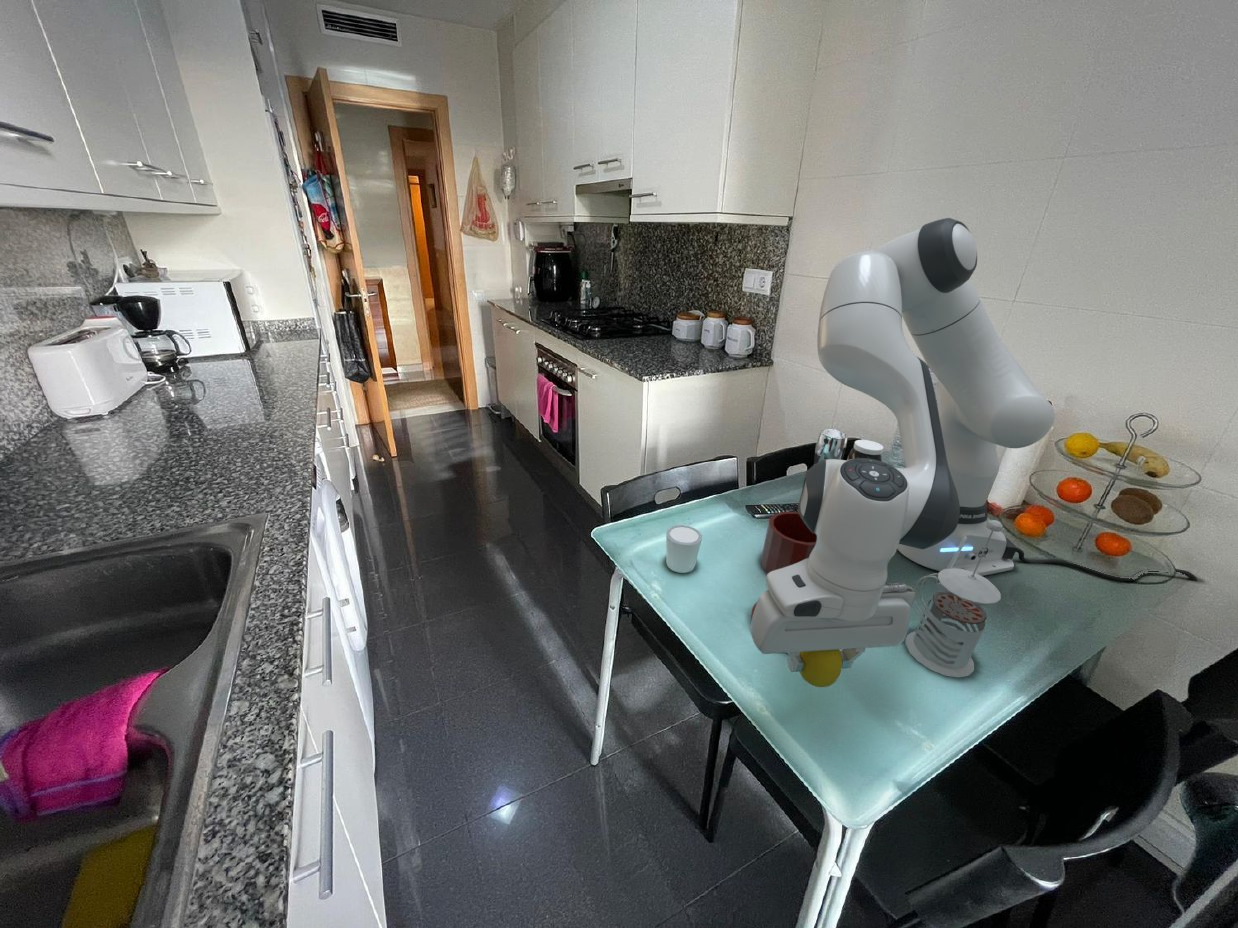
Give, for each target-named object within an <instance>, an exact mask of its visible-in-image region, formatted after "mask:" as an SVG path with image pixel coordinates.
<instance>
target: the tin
mask: <svg viewBox="0 0 1238 928" xmlns="http://www.w3.org/2000/svg"><path fill="white" fill-rule="evenodd" d="M768 519H769V520H768V524H767V529H766V533H765V537H764V543H763V548H762V553H761V558H760V564H761V567H762V570H763V571H764V572H765V573H766V575H767V574H768V573H769V572H771V571H774V570H777V569H781V568H784V567H787V566H790V565H793V564H795V563H798V562H800V561H802V560H804V559H807V558H809V556H810V554H811V552H812V550H813V549H814V547H815V545H816V541H817V535H816V534H815V533H812V532H811V531H810V530H809V529H808V527H807V526H806V524H805V523H804V521H803V520H802V518H801V517H800V515H799V513H798V511H780V512H778V513H774V514H772V515H771V517H769V518H768Z"/></svg>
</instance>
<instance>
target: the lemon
mask: <svg viewBox="0 0 1238 928" xmlns="http://www.w3.org/2000/svg"><path fill="white" fill-rule="evenodd" d="M840 651H841V649H839V650H823V651H806V652H800V656H801V659H802V660H803V661H804V663H805V664H804V667H803V671H799V674H800V675H801V677H802V679H803V680H804V681H805V682H806V683H807V684H809V685H811V686H813V687H815V688H827V687H830V686H832V685H833V684H835V683H836V682H837V680H838V679H839V677H840V675H841V673H842V670H843V669H842V655H841V652H840Z"/></svg>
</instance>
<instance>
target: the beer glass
mask: <svg viewBox="0 0 1238 928" xmlns="http://www.w3.org/2000/svg"><path fill="white" fill-rule="evenodd" d="M848 438H849V434H847V433H846V432H845V431H842V430H839V429H834V428H822V429H820V432H819V434H818V438H817V440H816V444H815V448H814V462H813V466H814V465H815V464H816V463H818V462H820V461H822V460H824V459H825V460H828V459H838V460H843V458H844V455H845V453H846V448H847V444H848Z"/></svg>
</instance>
